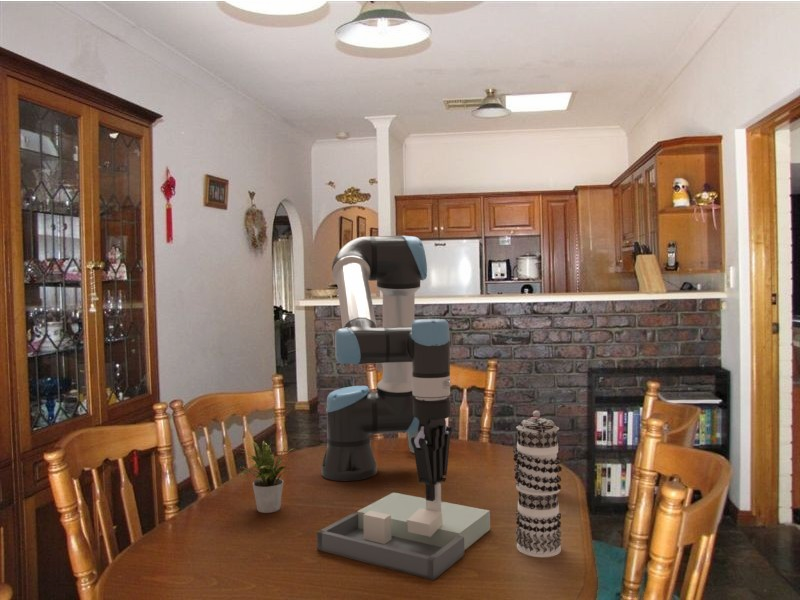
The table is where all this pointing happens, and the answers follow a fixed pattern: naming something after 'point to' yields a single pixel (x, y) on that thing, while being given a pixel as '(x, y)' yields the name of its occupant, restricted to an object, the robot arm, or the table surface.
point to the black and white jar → (538, 488)
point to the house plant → (267, 480)
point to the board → (454, 519)
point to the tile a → (377, 527)
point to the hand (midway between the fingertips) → (433, 514)
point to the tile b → (425, 522)
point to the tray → (389, 550)
